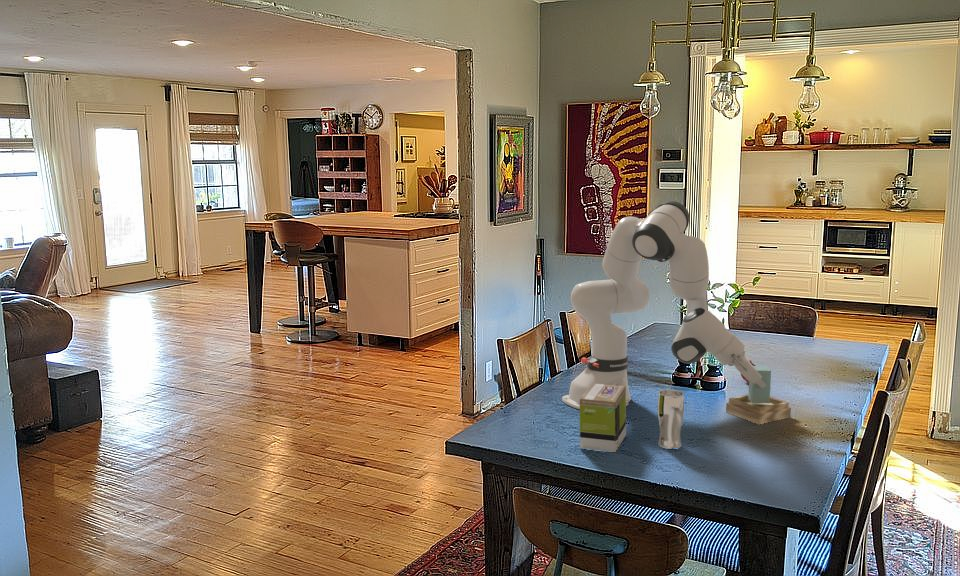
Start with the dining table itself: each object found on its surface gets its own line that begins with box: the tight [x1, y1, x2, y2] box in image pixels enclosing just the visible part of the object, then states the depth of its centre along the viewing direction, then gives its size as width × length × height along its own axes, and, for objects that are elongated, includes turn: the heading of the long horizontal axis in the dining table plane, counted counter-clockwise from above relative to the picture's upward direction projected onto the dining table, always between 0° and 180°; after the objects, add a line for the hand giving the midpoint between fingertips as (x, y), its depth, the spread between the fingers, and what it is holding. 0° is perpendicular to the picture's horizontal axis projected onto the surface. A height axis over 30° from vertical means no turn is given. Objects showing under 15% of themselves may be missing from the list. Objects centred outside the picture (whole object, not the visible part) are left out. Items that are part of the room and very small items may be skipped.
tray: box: [725, 393, 792, 426], centre depth 237 cm, size 13×13×4 cm
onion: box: [740, 359, 756, 384], centre depth 270 cm, size 6×6×8 cm
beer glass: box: [657, 388, 685, 449], centre depth 212 cm, size 7×7×15 cm
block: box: [747, 365, 772, 403], centre depth 236 cm, size 5×5×10 cm
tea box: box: [579, 383, 627, 453], centre depth 216 cm, size 15×10×15 cm, turn 159°
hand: (761, 383), depth 236 cm, fingers closed on block, 5 cm apart
